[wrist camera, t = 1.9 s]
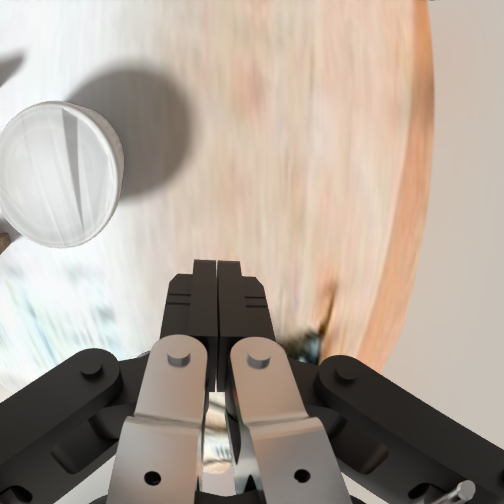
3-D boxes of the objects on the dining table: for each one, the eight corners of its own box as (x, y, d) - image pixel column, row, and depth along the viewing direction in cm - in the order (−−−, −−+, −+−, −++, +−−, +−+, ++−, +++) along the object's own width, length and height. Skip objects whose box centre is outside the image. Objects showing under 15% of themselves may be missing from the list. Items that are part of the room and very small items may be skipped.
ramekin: (162, 172, 25) (150, 194, 20) (74, 243, 27) (52, 274, 22) (85, 68, 19) (56, 67, 15) (5, 155, 21) (-29, 173, 17)
